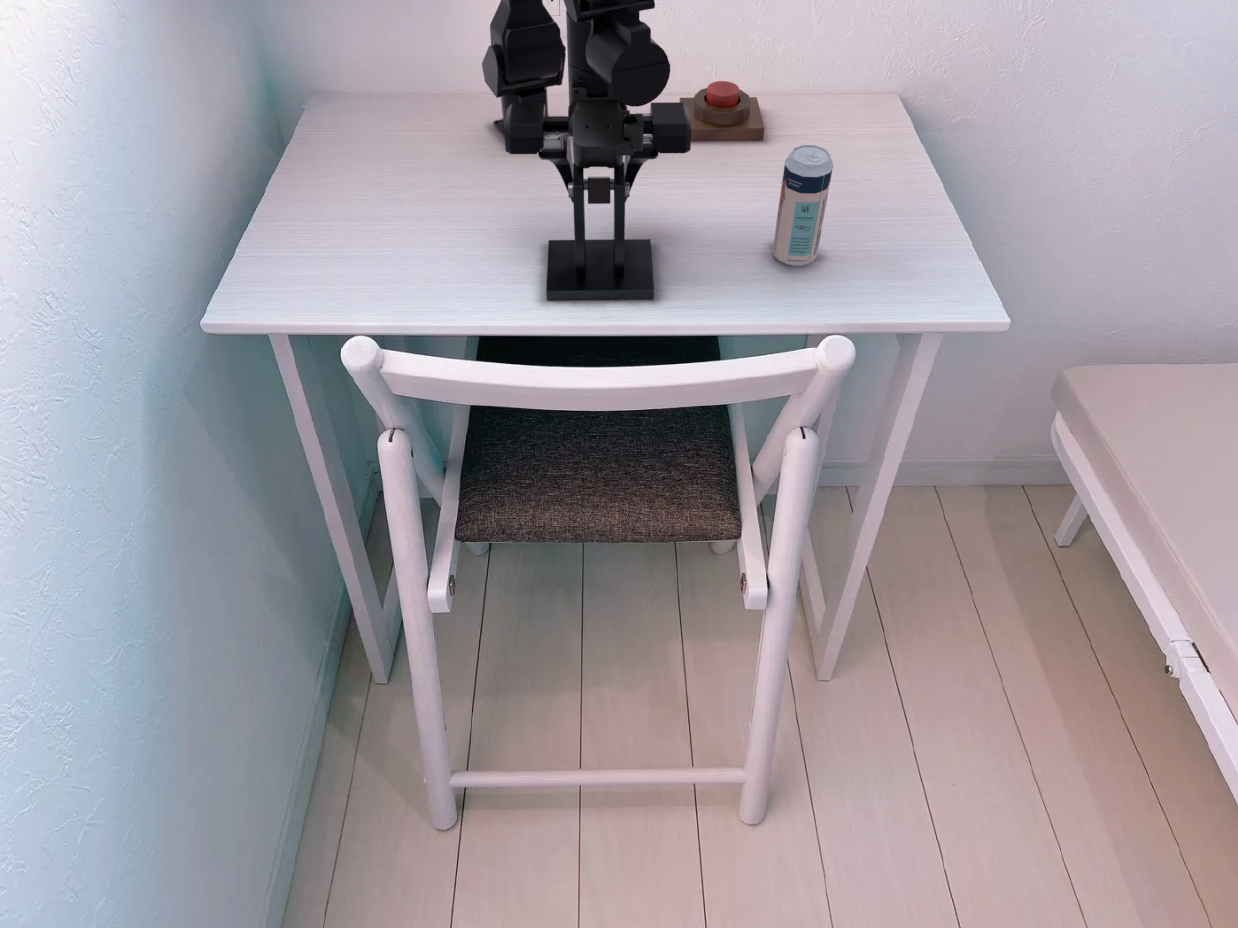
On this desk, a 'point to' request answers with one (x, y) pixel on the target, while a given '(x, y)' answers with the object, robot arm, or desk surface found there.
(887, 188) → the desk surface
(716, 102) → the button
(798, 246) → the beer can
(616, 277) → the bracket
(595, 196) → the lever
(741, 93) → the button block
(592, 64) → the robot arm
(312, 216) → the desk surface
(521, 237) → the desk surface
